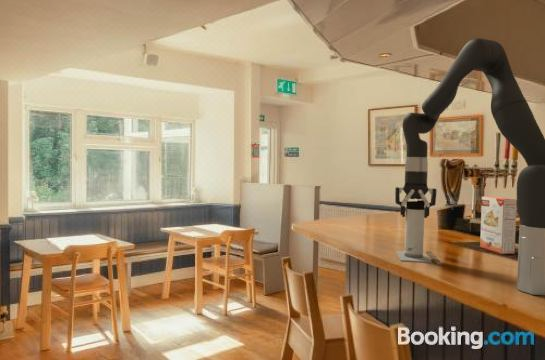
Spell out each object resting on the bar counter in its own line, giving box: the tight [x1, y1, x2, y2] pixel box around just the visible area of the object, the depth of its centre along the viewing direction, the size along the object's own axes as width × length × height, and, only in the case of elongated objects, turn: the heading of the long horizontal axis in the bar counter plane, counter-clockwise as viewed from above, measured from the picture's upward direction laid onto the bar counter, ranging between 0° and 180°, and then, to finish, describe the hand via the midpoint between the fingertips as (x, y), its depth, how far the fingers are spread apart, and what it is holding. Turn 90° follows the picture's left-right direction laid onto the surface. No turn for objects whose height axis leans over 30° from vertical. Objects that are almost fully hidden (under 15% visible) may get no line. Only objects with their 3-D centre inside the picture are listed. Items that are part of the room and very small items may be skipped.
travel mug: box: [403, 199, 425, 258], centre depth 161 cm, size 6×7×20 cm
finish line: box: [425, 250, 443, 266], centre depth 160 cm, size 22×2×1 cm, turn 170°
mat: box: [395, 250, 433, 264], centre depth 161 cm, size 16×10×1 cm, turn 170°
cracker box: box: [479, 195, 517, 255], centre depth 178 cm, size 14×6×21 cm, turn 8°
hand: (414, 217), depth 161 cm, fingers open, 7 cm apart
